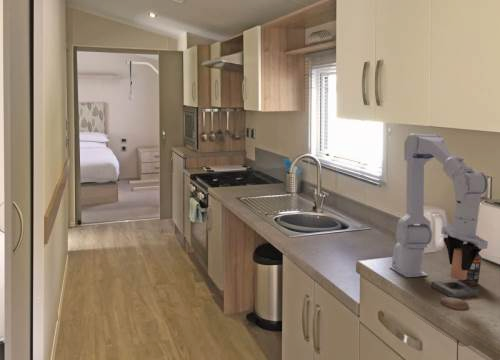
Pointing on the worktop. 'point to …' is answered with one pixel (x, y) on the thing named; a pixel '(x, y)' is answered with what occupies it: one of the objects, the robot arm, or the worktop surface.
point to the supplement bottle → (473, 272)
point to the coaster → (454, 303)
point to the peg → (458, 266)
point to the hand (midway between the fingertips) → (459, 266)
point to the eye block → (463, 292)
